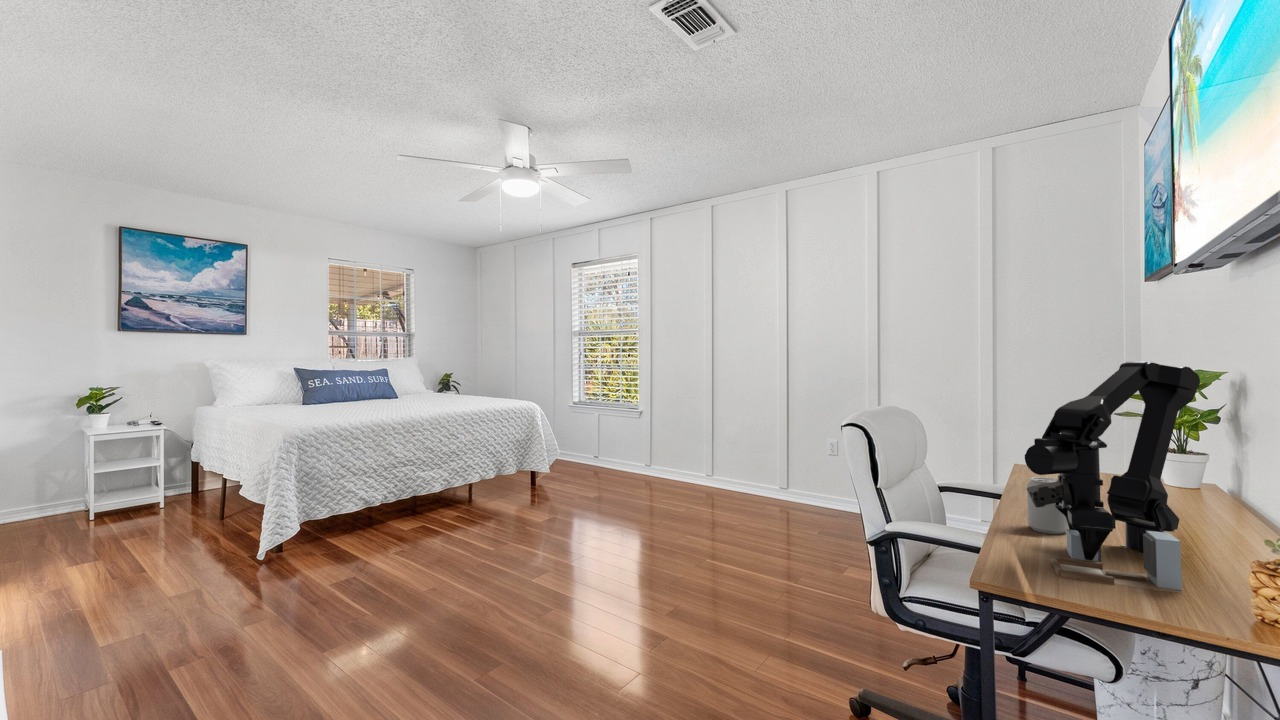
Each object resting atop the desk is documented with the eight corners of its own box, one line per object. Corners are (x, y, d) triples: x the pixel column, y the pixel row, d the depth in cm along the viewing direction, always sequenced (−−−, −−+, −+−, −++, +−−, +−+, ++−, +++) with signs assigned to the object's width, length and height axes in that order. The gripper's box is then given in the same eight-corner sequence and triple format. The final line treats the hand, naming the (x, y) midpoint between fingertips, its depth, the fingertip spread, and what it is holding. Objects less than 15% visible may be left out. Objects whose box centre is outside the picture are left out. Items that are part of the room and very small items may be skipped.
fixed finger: (1143, 576, 95) (1142, 530, 95) (1170, 579, 93) (1168, 532, 93) (1153, 586, 90) (1152, 538, 90) (1181, 590, 89) (1180, 541, 89)
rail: (1050, 569, 102) (1049, 556, 102) (1163, 584, 95) (1162, 570, 95) (1058, 584, 95) (1058, 570, 95) (1181, 602, 88) (1181, 586, 88)
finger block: (1067, 559, 107) (1066, 529, 107) (1096, 563, 105) (1095, 532, 105) (1071, 566, 104) (1071, 535, 104) (1102, 570, 102) (1101, 538, 102)
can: (1029, 523, 131) (1028, 474, 131) (1068, 529, 126) (1067, 477, 127) (1026, 531, 125) (1025, 479, 125) (1068, 537, 121) (1066, 483, 121)
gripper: (1022, 460, 117) (1024, 533, 117) (1037, 477, 101) (1039, 561, 100) (1088, 464, 112) (1090, 540, 111) (1115, 482, 95) (1117, 571, 95)
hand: (1082, 552), depth 105 cm, fingers open, 9 cm apart
